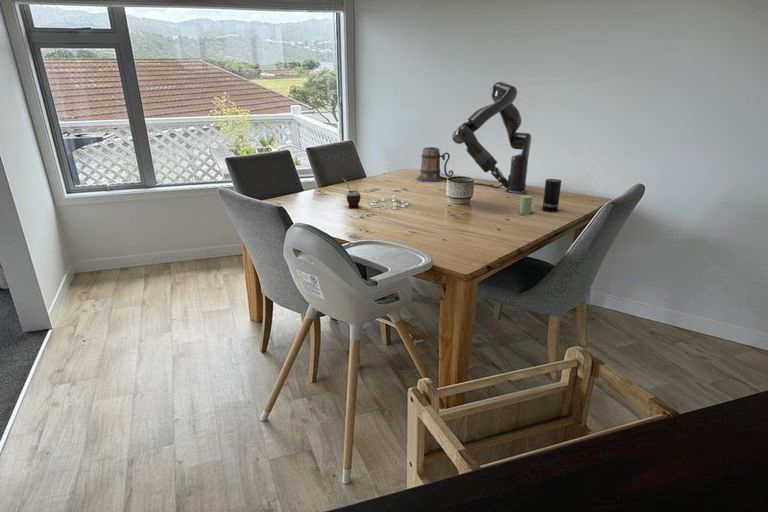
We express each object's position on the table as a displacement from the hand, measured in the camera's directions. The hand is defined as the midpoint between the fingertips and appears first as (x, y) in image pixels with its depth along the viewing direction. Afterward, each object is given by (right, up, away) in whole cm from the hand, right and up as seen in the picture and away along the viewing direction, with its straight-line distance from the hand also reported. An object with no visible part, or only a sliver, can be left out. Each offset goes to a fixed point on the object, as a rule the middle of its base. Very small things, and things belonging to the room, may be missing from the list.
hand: (507, 184), depth 229 cm
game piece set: (-57, -8, +18) cm, 60 cm away
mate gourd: (-75, -10, +12) cm, 77 cm away
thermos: (+23, -11, +7) cm, 27 cm away
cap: (+9, -13, +3) cm, 16 cm away
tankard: (-26, +15, +80) cm, 85 cm away
